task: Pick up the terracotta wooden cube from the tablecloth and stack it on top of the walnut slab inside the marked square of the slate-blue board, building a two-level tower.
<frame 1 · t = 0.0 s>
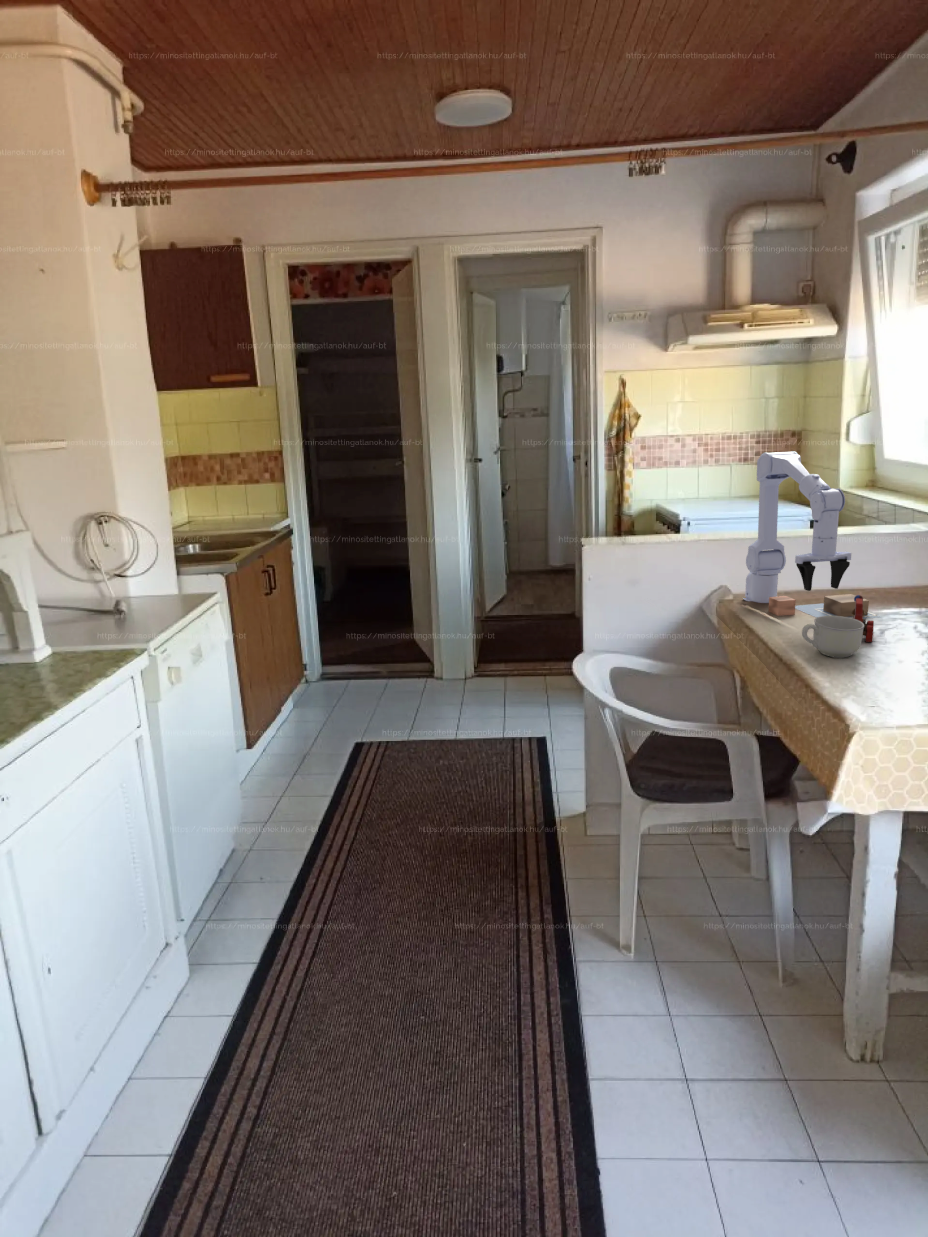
hand: (821, 588, 218), 10 cm above the table, tool pointing down, fingers open, 7 cm apart
terracotta cube: (781, 616, 232), on the table
teacup: (829, 654, 198), on the table
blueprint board: (833, 614, 232), on the table
toy fire truck: (857, 638, 209), on the table
walnut slab: (845, 612, 230), point 1 cm above the table, touching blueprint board
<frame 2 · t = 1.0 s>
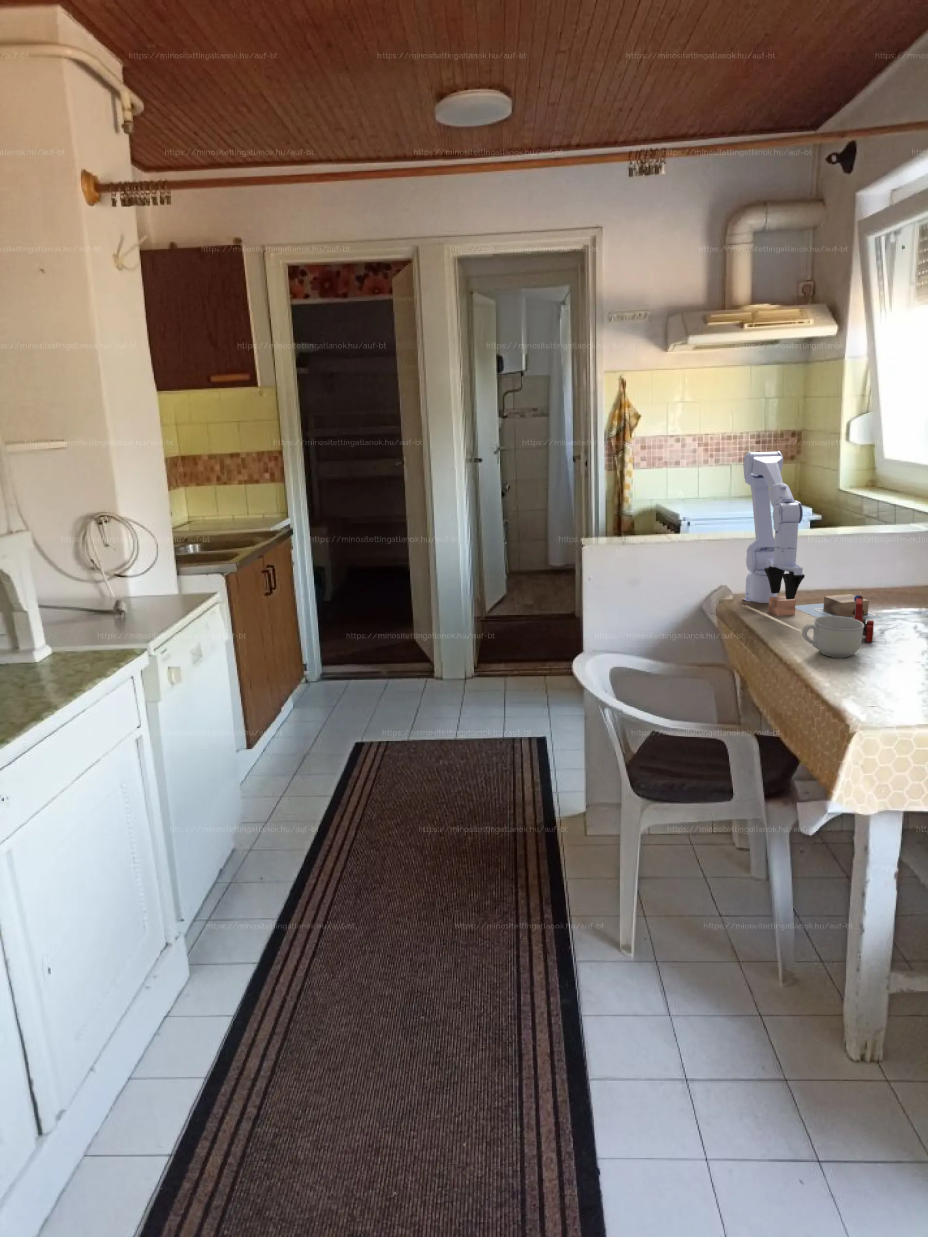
hand: (782, 596, 231), 6 cm above the table, tool pointing down, fingers open, 7 cm apart
nothing on the table moved.
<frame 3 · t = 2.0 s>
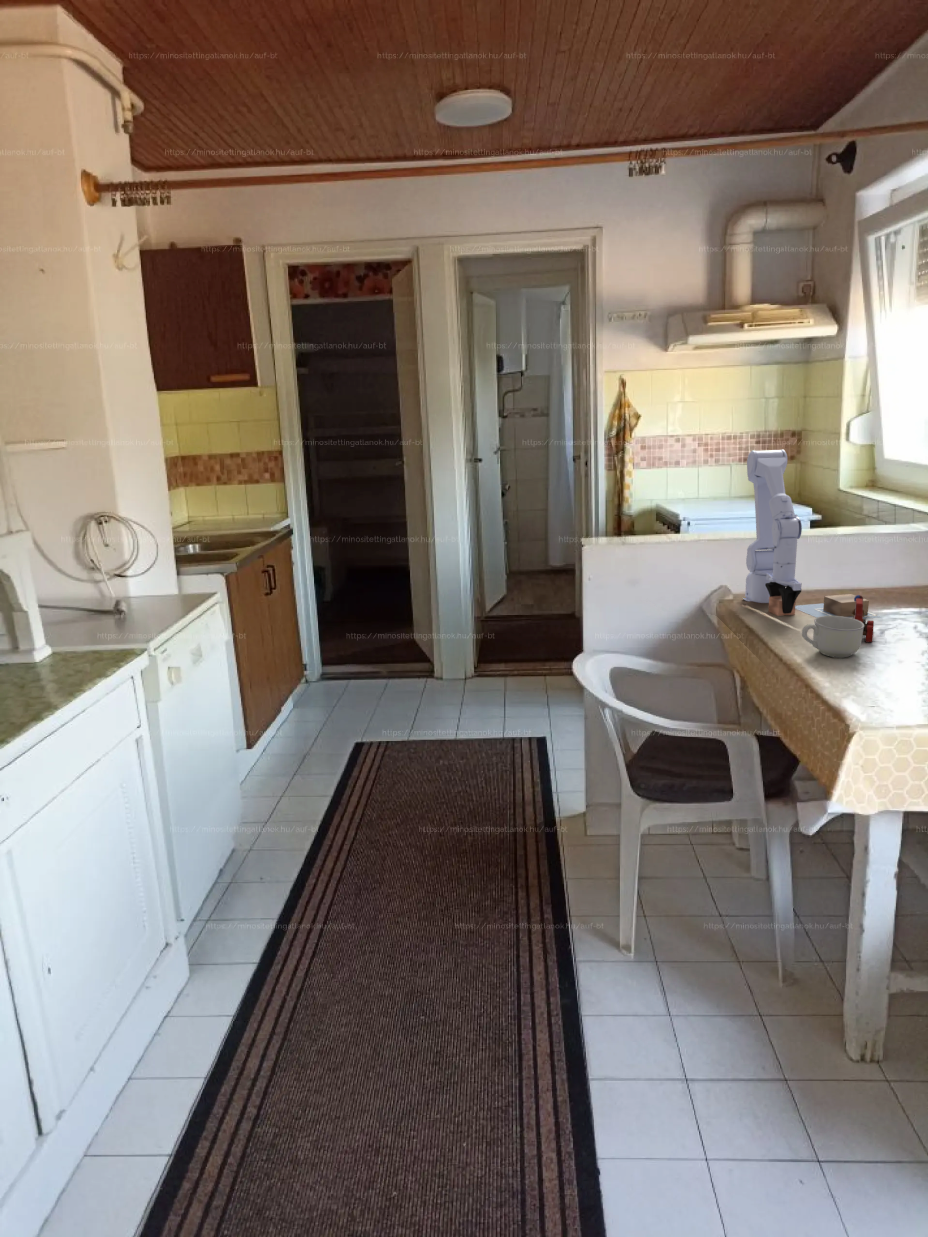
hand: (781, 610, 232), 1 cm above the table, tool pointing down, fingers closed on terracotta cube, 5 cm apart
terracotta cube: (781, 615, 232), on the table, touching gripper
everything else where it was.
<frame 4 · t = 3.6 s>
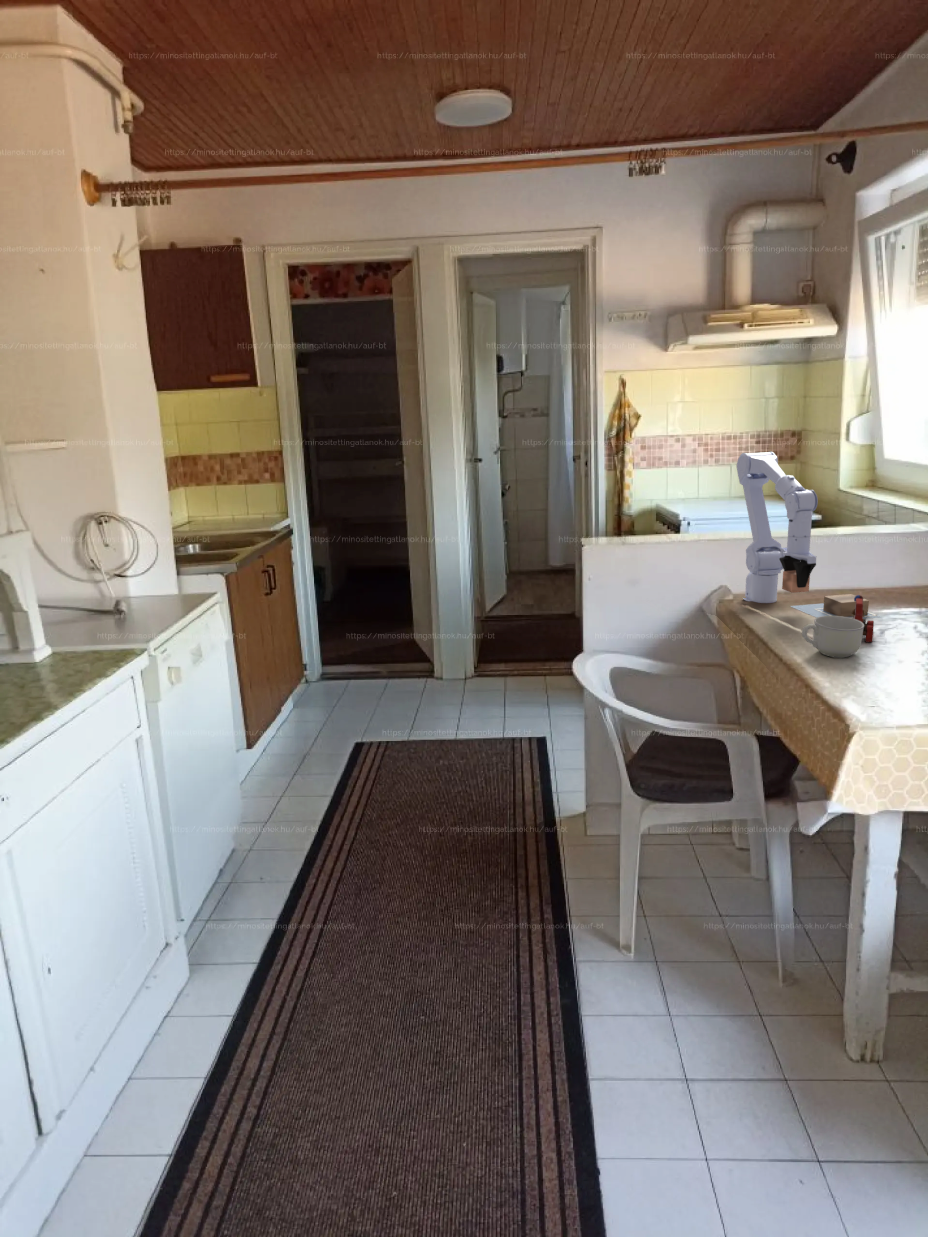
hand: (795, 585, 230), 9 cm above the table, tool pointing down, fingers closed on terracotta cube, 5 cm apart
terracotta cube: (795, 590, 230), point 7 cm above the table, touching gripper
everything else where it was.
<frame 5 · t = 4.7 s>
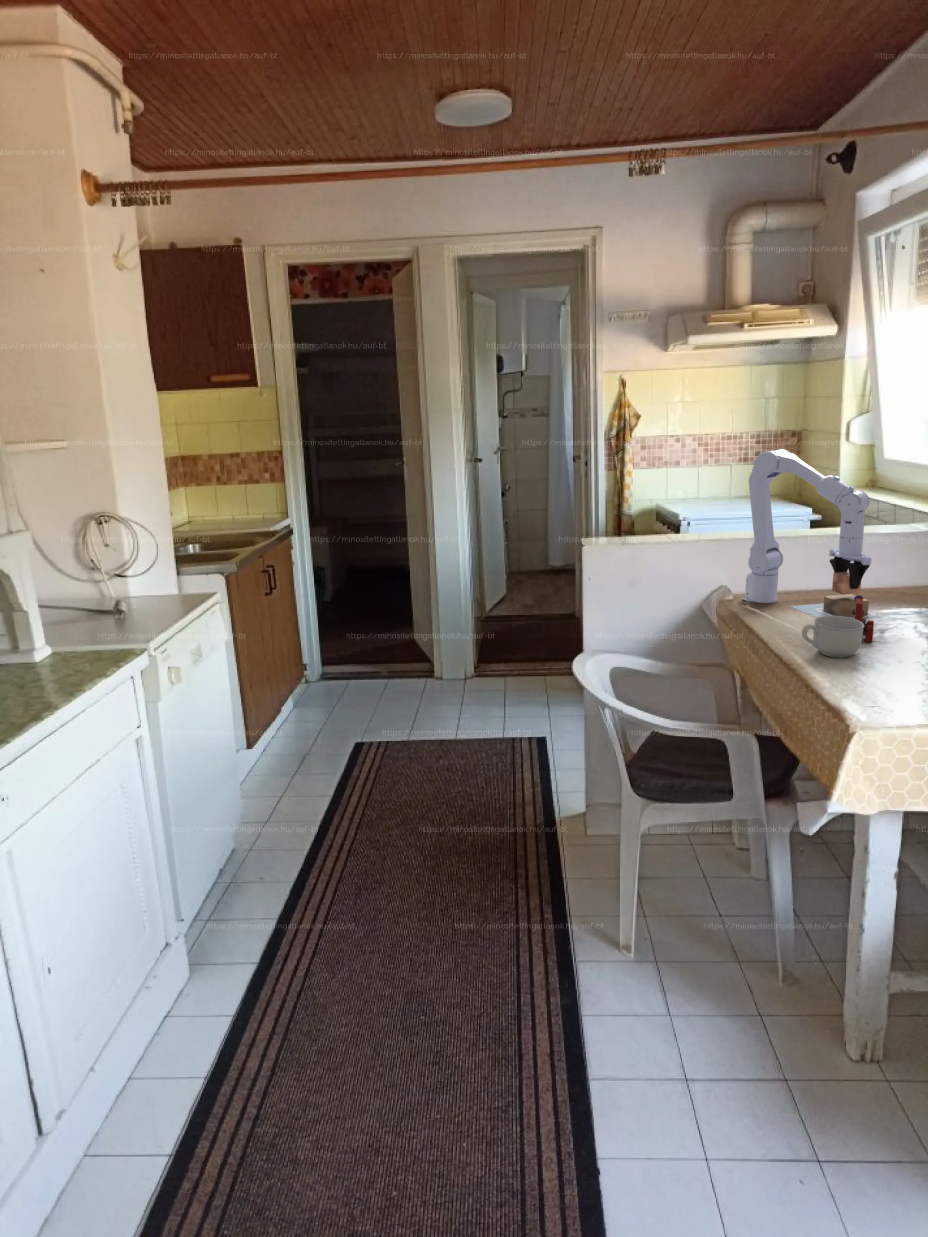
hand: (847, 586, 228), 8 cm above the table, tool pointing down, fingers closed on terracotta cube, 5 cm apart
terracotta cube: (846, 592, 228), point 7 cm above the table, touching gripper
everything else where it was.
when the fingers open (7 cm above the table, at t = 5.4 s): terracotta cube stays where it is, resting on walnut slab.
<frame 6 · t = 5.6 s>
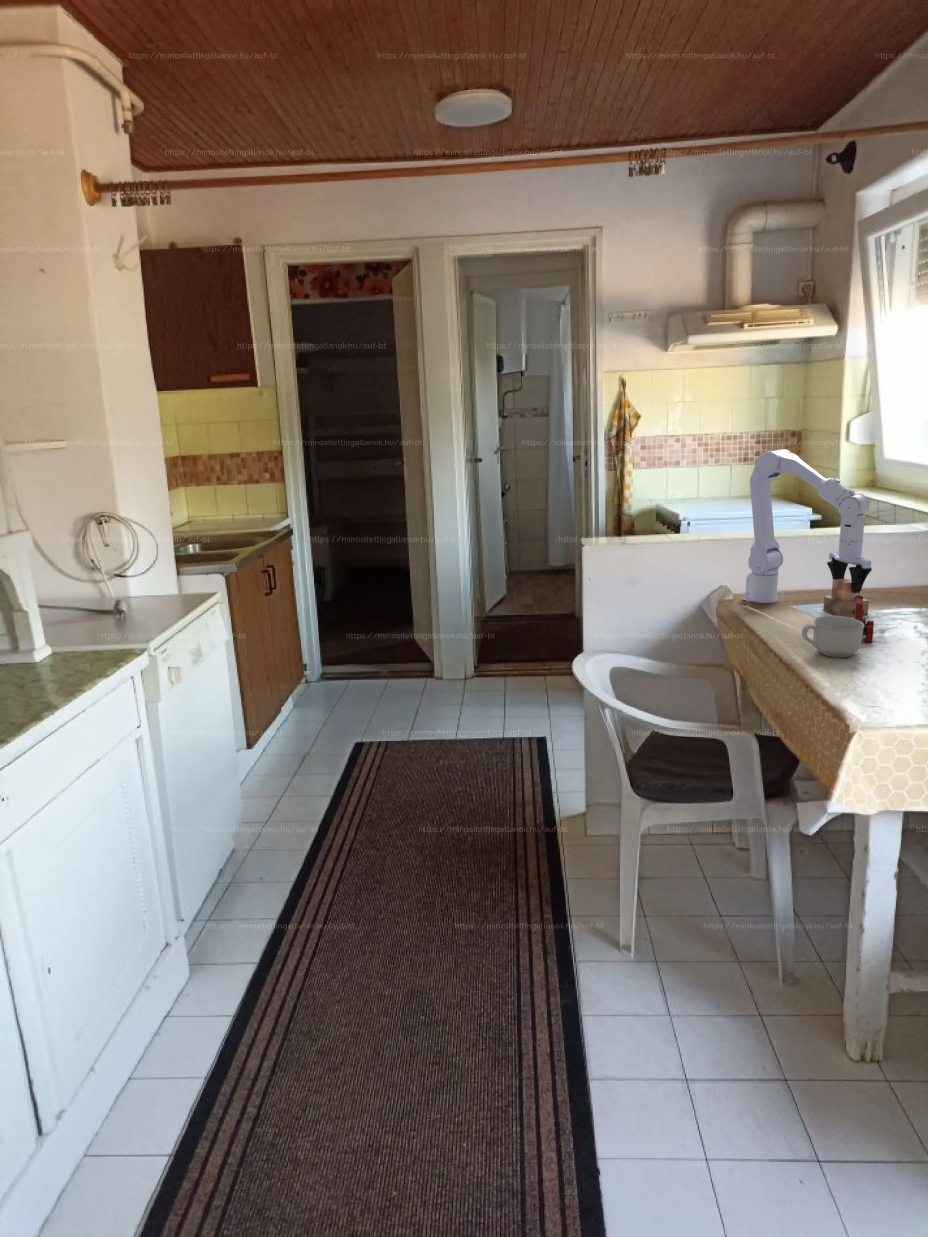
hand: (847, 589, 228), 7 cm above the table, tool pointing down, fingers open, 7 cm apart
terracotta cube: (845, 598, 229), point 5 cm above the table, touching walnut slab
walnut slab: (845, 612, 230), point 1 cm above the table, touching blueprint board, terracotta cube
everything else where it was.
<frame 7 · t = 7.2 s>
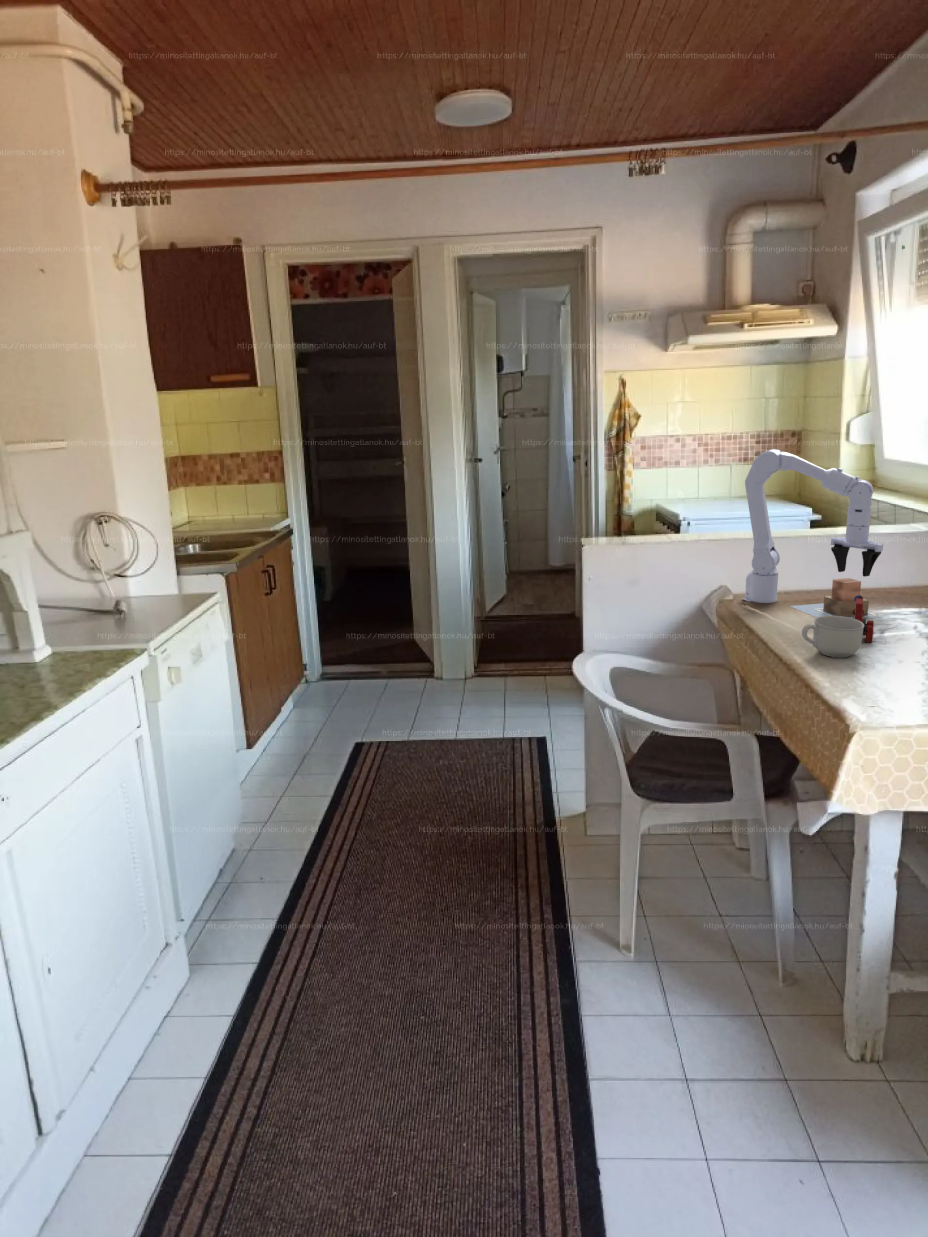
hand: (853, 573, 233), 10 cm above the table, tool pointing down, fingers open, 7 cm apart
nothing on the table moved.
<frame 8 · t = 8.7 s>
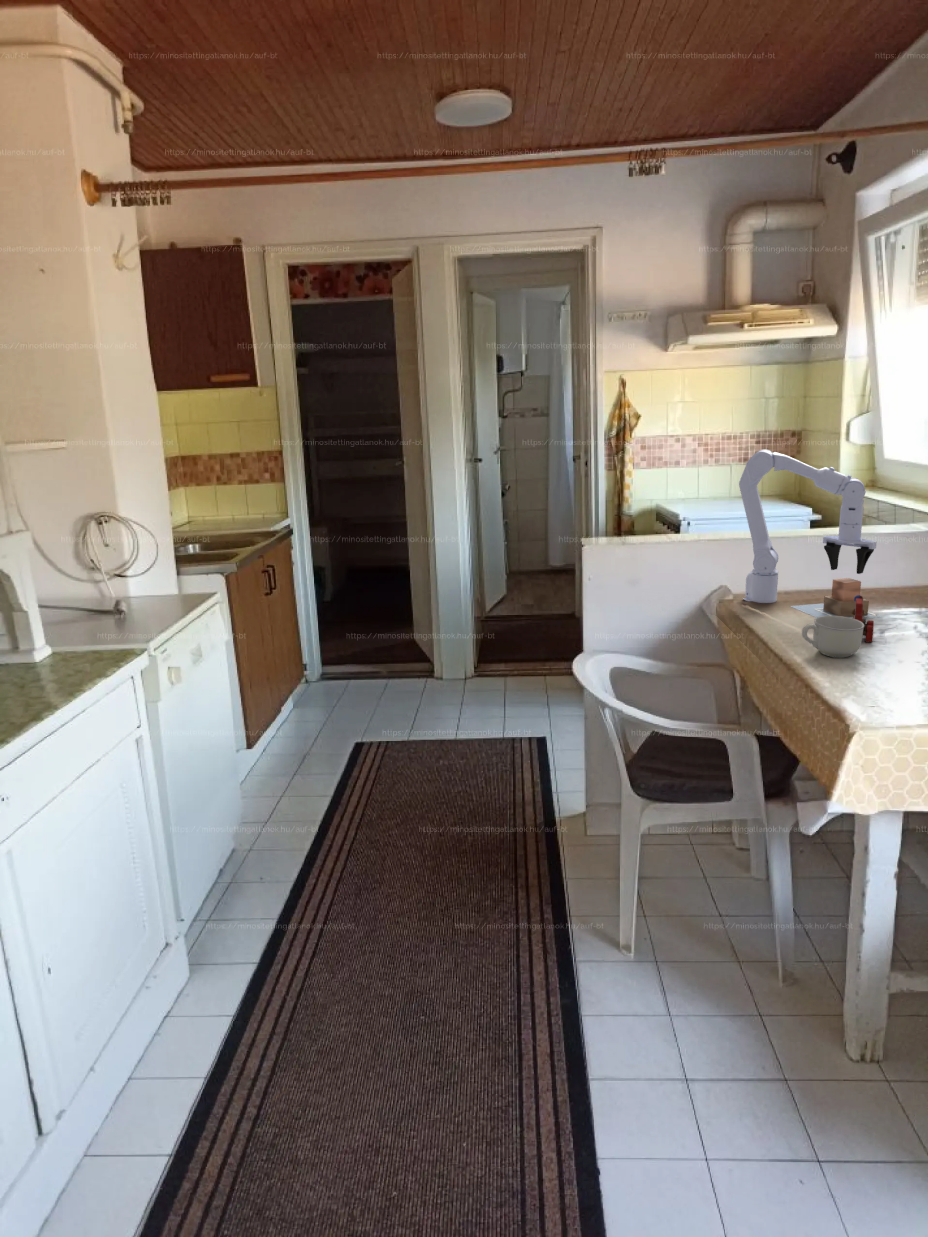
hand: (846, 571, 236), 10 cm above the table, tool pointing down, fingers open, 7 cm apart
nothing on the table moved.
at the end: terracotta cube 0.3 cm off-centre on the walnut slab, point 4.0 cm above the walnut slab's base; terracotta cube tilted 0°; the gripper is holding nothing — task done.
